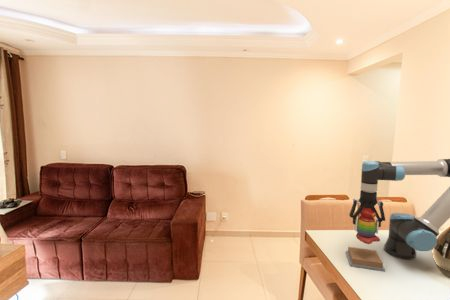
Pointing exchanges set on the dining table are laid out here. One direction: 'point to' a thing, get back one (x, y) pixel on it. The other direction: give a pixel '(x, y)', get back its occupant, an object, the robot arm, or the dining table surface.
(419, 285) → the dining table surface
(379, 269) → the board
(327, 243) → the dining table surface
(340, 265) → the dining table surface
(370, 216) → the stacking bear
